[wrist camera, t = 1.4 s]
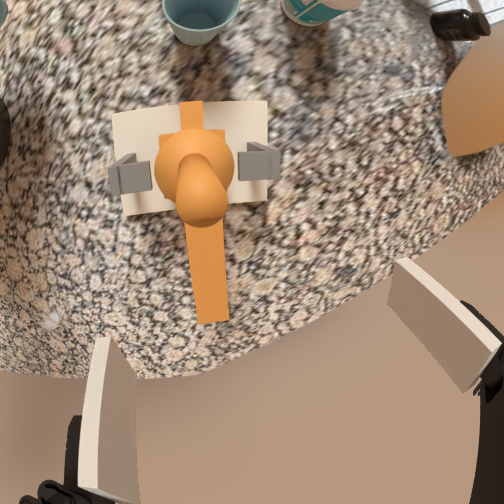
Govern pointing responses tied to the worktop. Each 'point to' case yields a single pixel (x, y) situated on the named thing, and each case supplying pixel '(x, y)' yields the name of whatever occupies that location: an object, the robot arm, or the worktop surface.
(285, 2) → the pill bottle
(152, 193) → the base
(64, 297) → the worktop surface
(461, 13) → the supplement bottle
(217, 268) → the lever handle
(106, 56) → the worktop surface
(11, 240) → the worktop surface
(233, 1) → the cup
